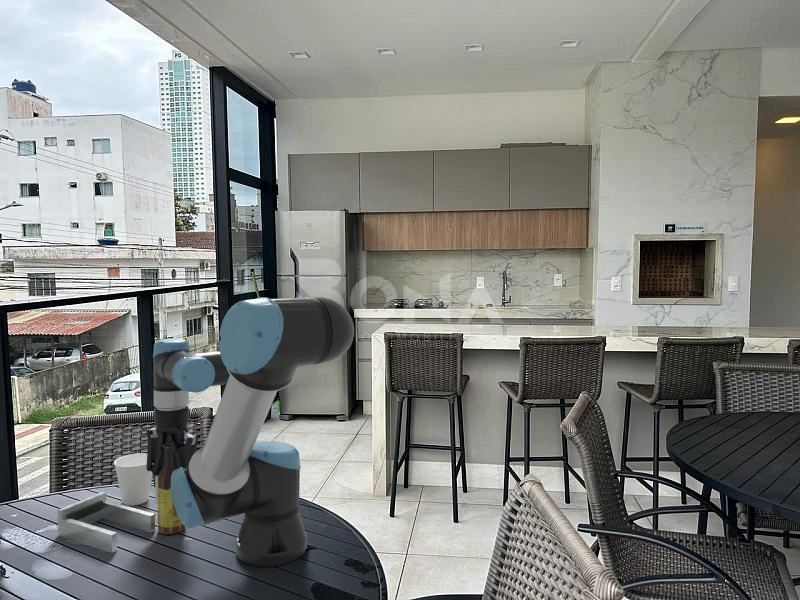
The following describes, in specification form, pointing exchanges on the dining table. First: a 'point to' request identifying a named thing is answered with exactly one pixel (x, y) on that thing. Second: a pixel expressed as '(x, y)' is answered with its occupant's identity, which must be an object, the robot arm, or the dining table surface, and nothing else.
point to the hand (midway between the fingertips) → (172, 504)
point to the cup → (133, 478)
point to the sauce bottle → (167, 497)
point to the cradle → (94, 508)
